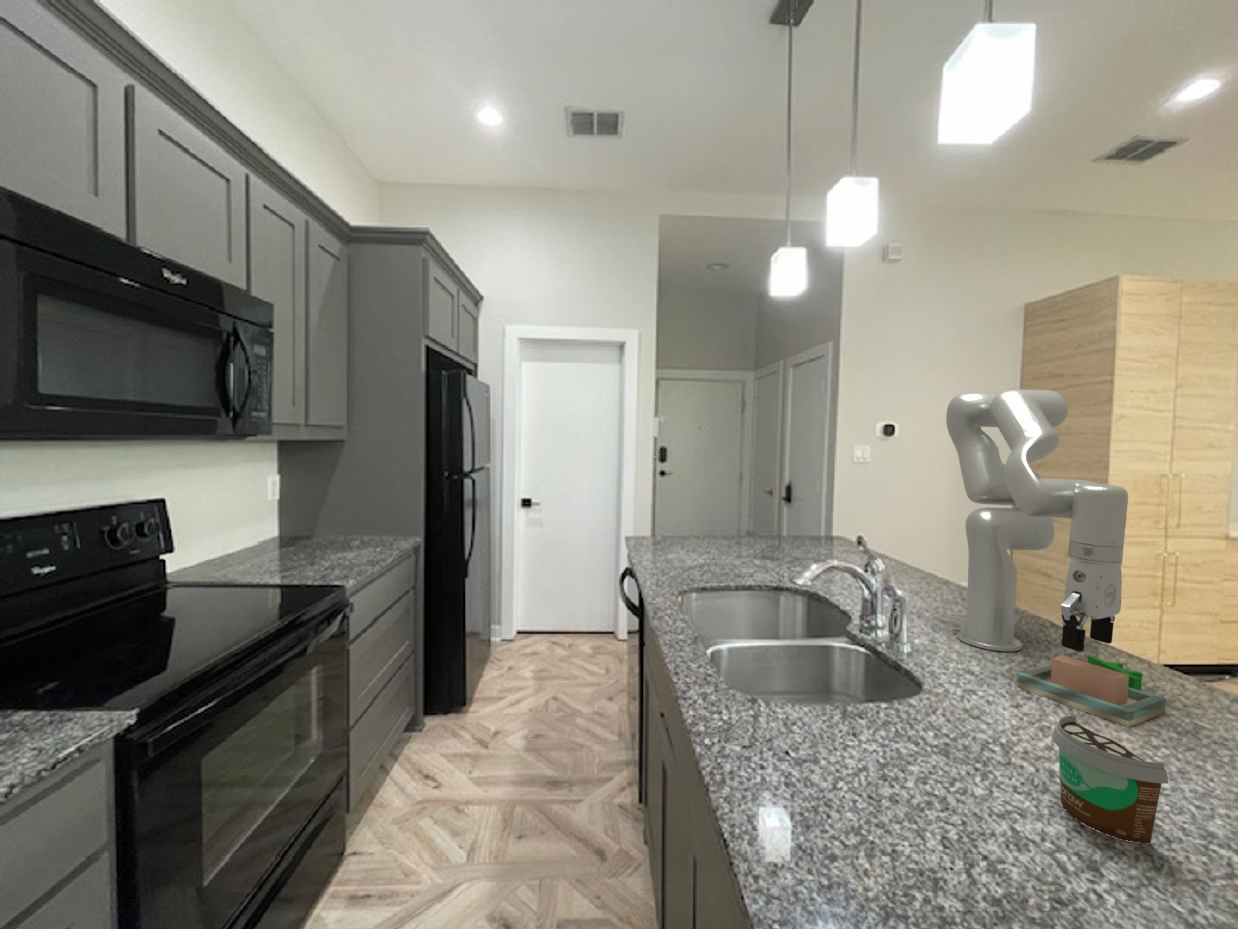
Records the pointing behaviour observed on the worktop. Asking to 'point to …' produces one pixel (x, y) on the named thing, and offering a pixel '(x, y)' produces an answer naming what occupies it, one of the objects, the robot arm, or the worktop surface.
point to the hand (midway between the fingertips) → (1086, 645)
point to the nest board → (1094, 699)
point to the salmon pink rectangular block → (1090, 679)
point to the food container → (1107, 783)
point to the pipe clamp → (1134, 676)
